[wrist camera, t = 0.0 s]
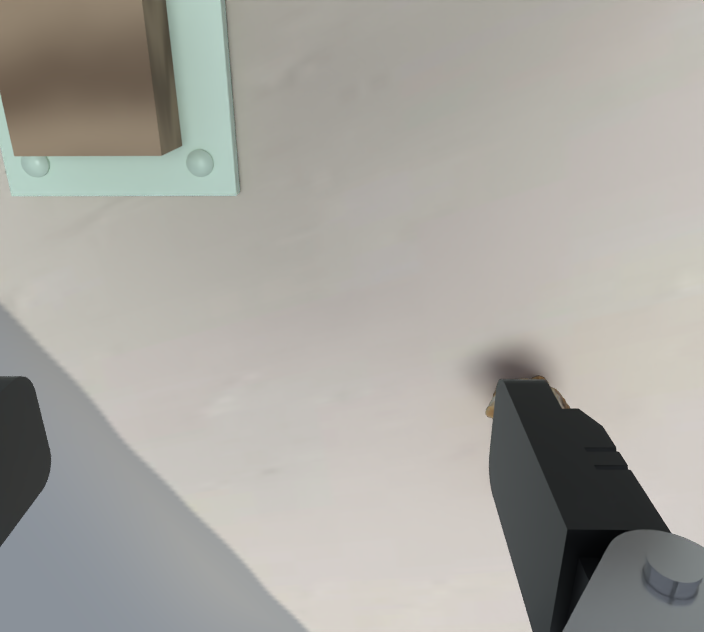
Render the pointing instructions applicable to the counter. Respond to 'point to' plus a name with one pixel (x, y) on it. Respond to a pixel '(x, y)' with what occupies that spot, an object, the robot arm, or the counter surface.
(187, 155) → the plate
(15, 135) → the walnut block
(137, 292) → the counter surface
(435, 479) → the counter surface
